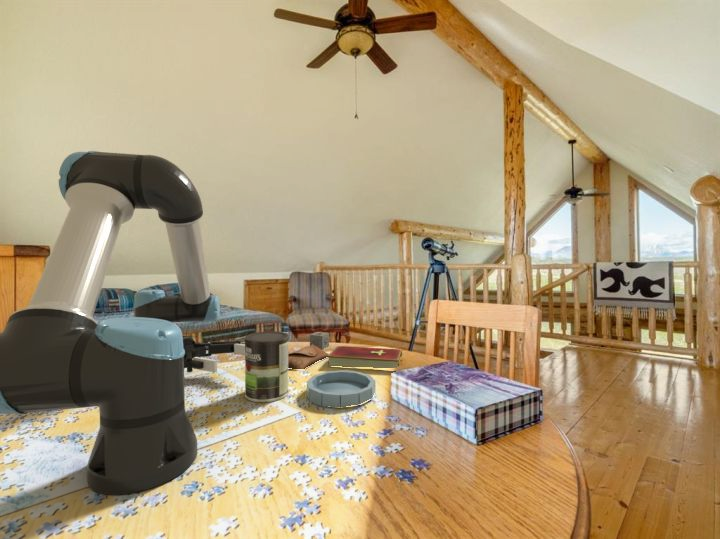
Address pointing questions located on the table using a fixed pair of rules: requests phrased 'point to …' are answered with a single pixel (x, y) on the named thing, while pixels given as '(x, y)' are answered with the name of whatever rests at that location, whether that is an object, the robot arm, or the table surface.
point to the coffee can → (266, 366)
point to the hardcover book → (364, 357)
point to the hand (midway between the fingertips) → (236, 358)
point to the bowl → (340, 388)
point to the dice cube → (319, 339)
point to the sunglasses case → (305, 357)
